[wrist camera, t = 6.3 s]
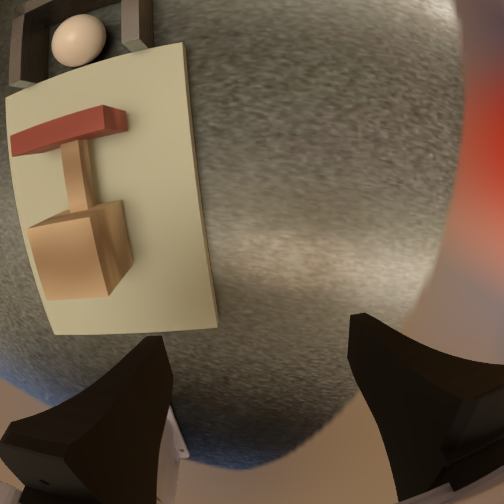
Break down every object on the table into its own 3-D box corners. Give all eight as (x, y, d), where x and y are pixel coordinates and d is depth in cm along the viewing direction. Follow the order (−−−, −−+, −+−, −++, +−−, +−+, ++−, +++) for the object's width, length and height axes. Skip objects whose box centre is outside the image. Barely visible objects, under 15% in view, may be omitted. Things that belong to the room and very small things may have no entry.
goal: (154, 55, 16) (139, 38, 13) (37, 90, 16) (9, 85, 13) (152, -18, 14) (139, -42, 11) (39, 20, 14) (14, 8, 11)
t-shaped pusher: (148, 262, 19) (126, 295, 14) (66, 271, 19) (33, 301, 14) (125, 110, 16) (94, 102, 12) (41, 134, 16) (-1, 136, 11)
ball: (92, 0, 12) (112, 14, 15) (40, 21, 12) (66, 30, 15) (94, 53, 13) (115, 60, 16) (42, 72, 13) (69, 75, 16)
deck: (218, 316, 22) (217, 327, 21) (62, 325, 22) (54, 334, 21) (185, 49, 16) (182, 42, 15) (17, 99, 16) (5, 97, 15)
